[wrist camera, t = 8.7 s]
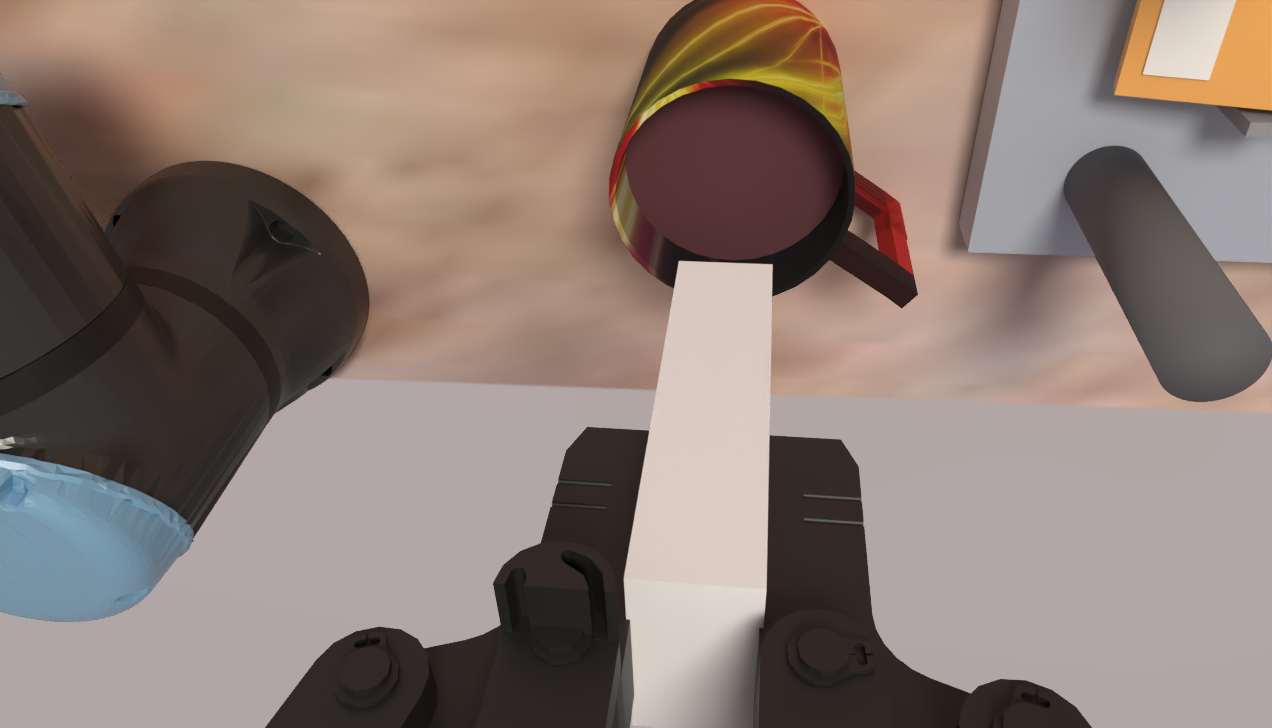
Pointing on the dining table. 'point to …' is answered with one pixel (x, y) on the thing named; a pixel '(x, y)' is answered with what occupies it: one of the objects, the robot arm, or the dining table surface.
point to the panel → (1102, 139)
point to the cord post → (1165, 279)
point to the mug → (749, 153)
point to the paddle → (1199, 52)
